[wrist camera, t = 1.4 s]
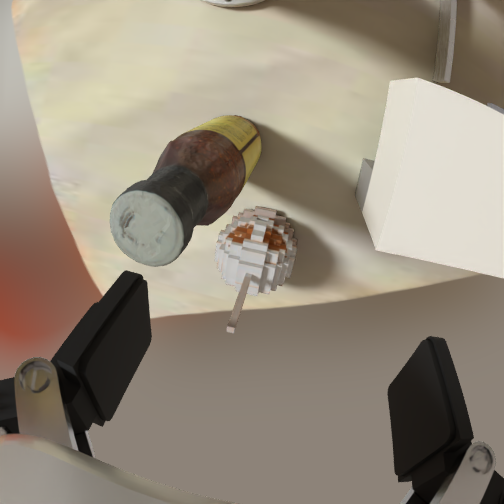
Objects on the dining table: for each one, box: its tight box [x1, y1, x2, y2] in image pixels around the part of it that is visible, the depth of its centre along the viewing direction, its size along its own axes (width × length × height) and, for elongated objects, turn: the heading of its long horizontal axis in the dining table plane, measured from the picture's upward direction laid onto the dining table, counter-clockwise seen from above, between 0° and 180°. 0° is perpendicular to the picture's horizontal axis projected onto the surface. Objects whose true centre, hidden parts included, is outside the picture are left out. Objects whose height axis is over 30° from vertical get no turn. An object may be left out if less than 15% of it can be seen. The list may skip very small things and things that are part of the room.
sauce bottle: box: [110, 115, 261, 267], centre depth 22 cm, size 7×6×20 cm
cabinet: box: [355, 78, 504, 278], centre depth 21 cm, size 13×23×12 cm, turn 83°
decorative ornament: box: [215, 206, 297, 333], centre depth 29 cm, size 8×8×15 cm
